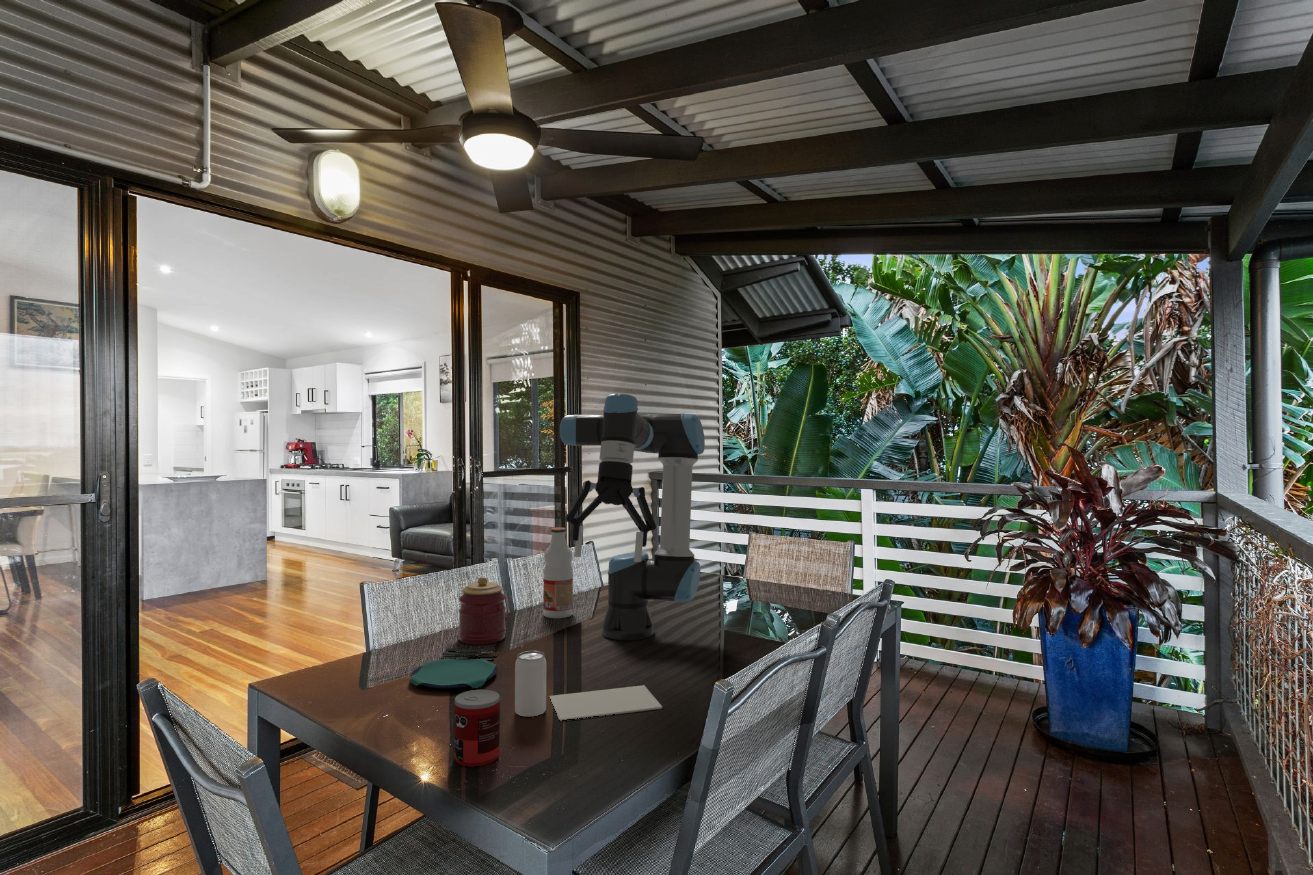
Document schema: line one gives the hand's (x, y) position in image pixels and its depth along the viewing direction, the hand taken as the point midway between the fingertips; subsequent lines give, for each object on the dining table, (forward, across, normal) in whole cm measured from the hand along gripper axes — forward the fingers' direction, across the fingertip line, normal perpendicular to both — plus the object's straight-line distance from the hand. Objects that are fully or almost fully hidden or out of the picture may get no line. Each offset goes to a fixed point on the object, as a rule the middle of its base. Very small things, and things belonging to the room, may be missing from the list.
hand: (607, 559), depth 148 cm
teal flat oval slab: (+29, -24, +37) cm, 53 cm away
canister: (+24, -17, +62) cm, 68 cm away
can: (+33, -12, +7) cm, 35 cm away
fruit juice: (+17, +8, +79) cm, 82 cm away
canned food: (+37, -24, -10) cm, 46 cm away
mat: (+30, +4, +6) cm, 31 cm away
